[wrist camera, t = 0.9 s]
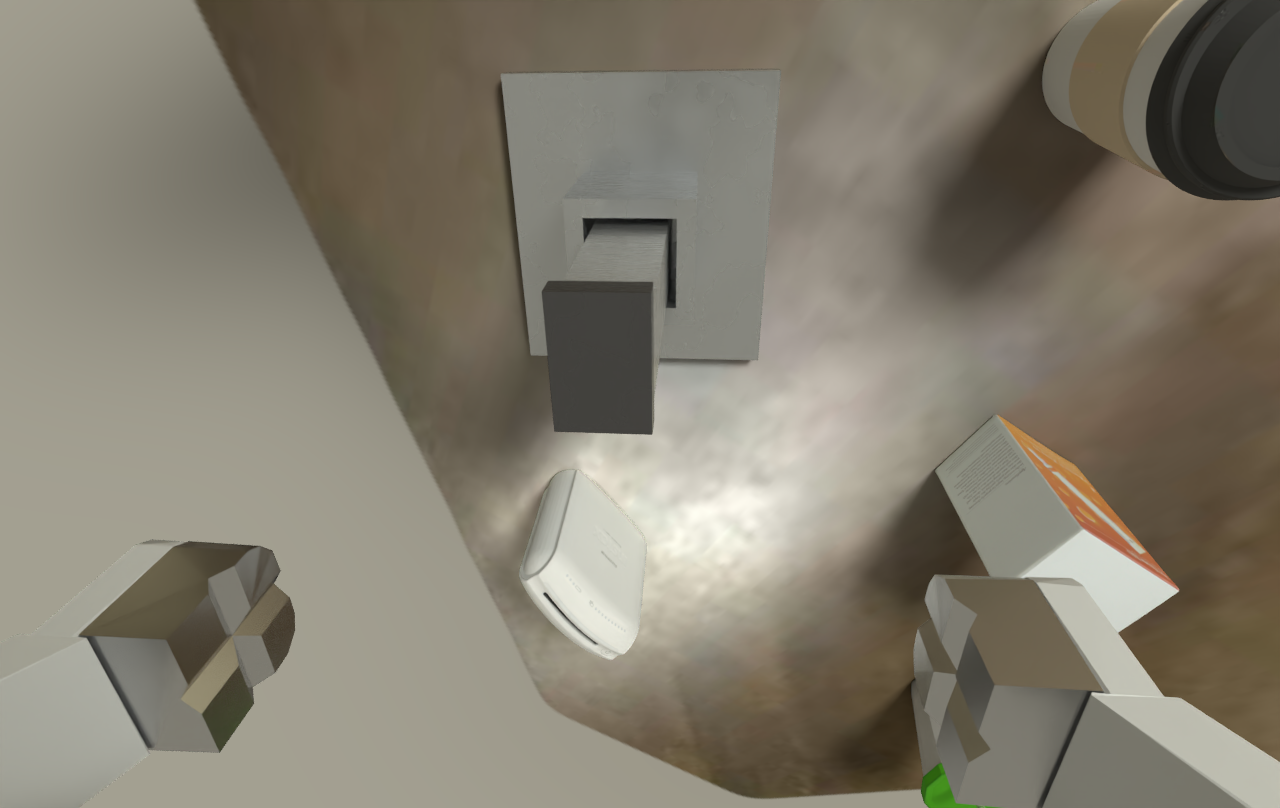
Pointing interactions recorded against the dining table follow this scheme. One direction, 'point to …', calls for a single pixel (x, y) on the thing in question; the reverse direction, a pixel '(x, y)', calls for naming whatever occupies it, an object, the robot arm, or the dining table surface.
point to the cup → (932, 760)
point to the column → (609, 327)
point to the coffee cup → (1176, 90)
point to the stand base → (650, 187)
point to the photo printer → (586, 566)
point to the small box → (1048, 522)
